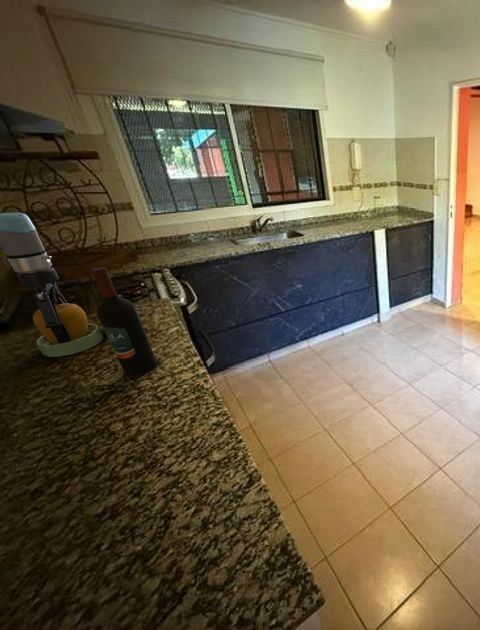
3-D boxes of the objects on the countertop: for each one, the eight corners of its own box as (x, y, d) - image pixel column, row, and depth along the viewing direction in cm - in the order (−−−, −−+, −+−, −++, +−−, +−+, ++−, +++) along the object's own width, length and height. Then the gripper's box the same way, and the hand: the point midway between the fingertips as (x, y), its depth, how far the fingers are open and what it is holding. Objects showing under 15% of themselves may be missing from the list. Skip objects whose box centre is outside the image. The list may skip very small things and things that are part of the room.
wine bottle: (161, 369, 97) (121, 268, 84) (128, 381, 92) (80, 276, 79) (154, 359, 102) (114, 262, 88) (122, 370, 97) (75, 269, 83)
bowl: (30, 359, 102) (22, 346, 100) (71, 335, 114) (65, 323, 112) (79, 358, 102) (72, 345, 100) (114, 334, 115) (109, 323, 113)
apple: (98, 330, 114) (81, 295, 109) (92, 345, 106) (73, 307, 101) (53, 339, 109) (33, 302, 103) (43, 355, 101) (21, 316, 95)
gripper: (45, 278, 91) (81, 349, 100) (59, 257, 107) (89, 320, 117) (4, 284, 87) (45, 357, 96) (25, 261, 103) (59, 326, 113)
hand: (69, 336), depth 107 cm, fingers closed on apple, 11 cm apart
